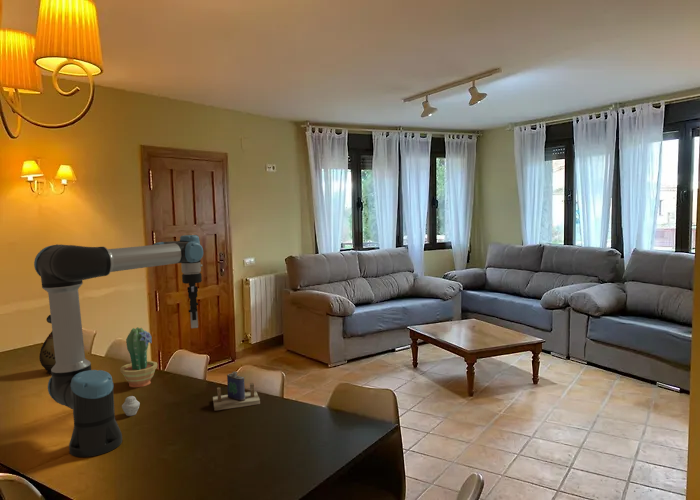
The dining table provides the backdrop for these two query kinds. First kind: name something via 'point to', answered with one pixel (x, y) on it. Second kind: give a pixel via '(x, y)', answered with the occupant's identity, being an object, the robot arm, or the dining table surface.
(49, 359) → the ceramic jug
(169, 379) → the dining table surface
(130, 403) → the white rounded jar
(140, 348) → the potted cactus
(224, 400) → the slice holder
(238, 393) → the flask
